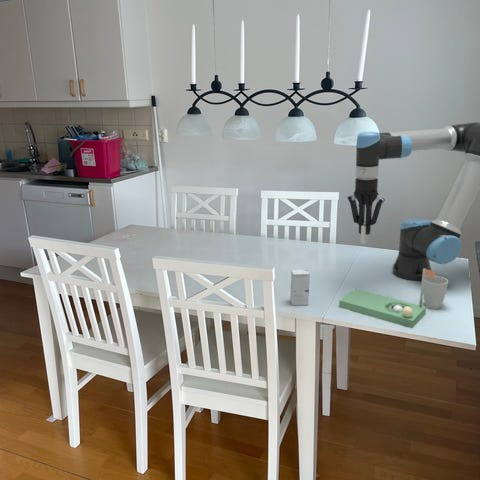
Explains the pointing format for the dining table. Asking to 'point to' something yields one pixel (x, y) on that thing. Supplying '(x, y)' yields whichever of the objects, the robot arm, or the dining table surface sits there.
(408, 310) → the yellow ball
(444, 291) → the cup
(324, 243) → the dining table surface
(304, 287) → the skincare box
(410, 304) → the green
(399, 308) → the ball
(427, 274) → the flag
